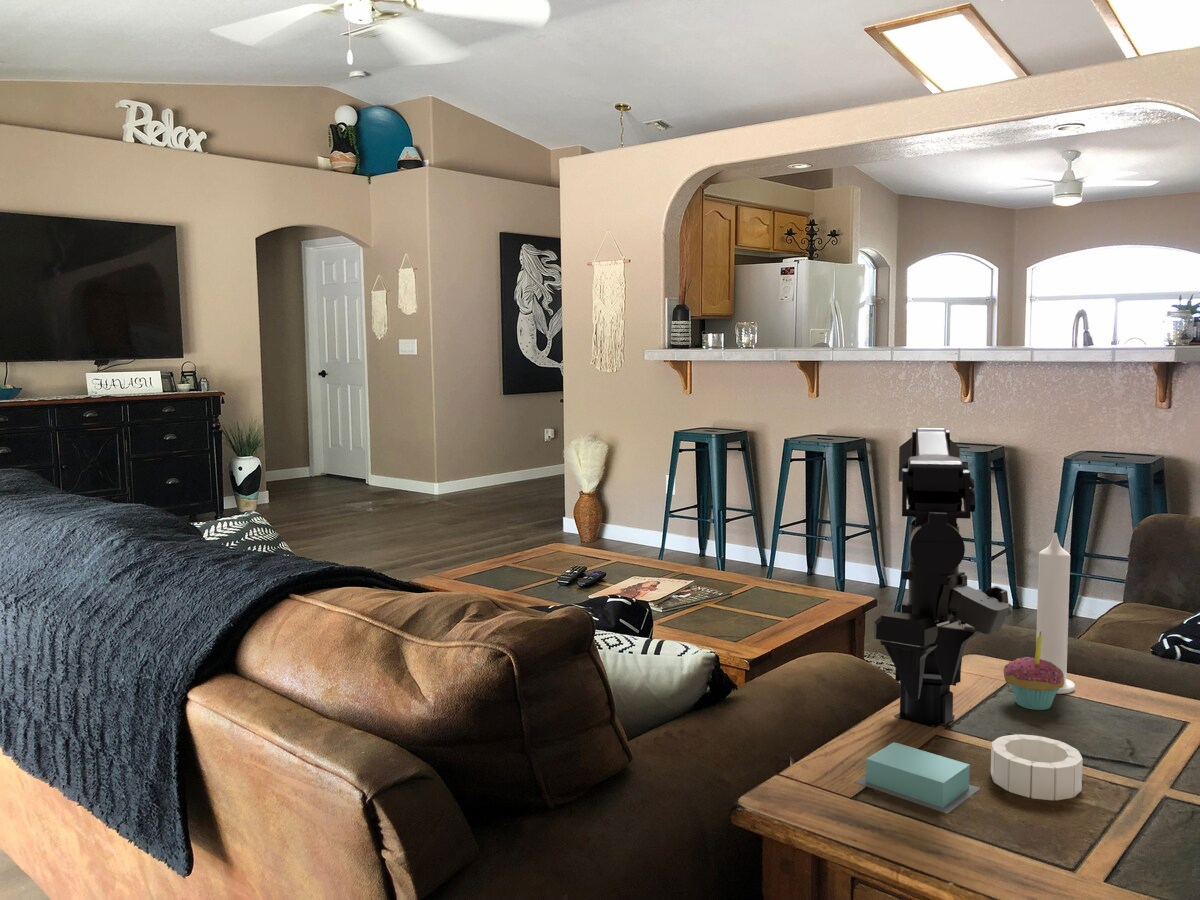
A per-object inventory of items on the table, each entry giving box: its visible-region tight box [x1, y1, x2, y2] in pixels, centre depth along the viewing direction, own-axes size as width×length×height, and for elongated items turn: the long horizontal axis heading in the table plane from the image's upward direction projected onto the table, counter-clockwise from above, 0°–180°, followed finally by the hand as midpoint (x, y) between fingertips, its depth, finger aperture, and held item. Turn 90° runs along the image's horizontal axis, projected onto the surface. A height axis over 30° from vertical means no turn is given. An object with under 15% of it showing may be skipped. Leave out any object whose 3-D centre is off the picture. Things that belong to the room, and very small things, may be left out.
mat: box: [854, 774, 982, 815], centre depth 118 cm, size 12×9×1 cm
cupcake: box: [1003, 631, 1064, 711], centre depth 145 cm, size 9×8×12 cm
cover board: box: [865, 741, 971, 808], centre depth 118 cm, size 10×7×3 cm
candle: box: [1035, 532, 1076, 694], centre depth 152 cm, size 7×7×25 cm
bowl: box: [990, 733, 1084, 801], centre depth 118 cm, size 10×10×4 cm
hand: (931, 691), depth 116 cm, fingers open, 9 cm apart
